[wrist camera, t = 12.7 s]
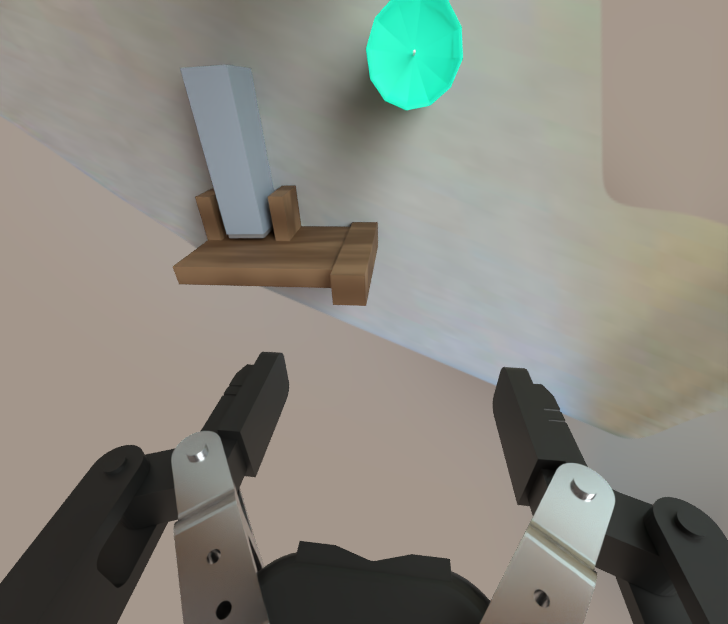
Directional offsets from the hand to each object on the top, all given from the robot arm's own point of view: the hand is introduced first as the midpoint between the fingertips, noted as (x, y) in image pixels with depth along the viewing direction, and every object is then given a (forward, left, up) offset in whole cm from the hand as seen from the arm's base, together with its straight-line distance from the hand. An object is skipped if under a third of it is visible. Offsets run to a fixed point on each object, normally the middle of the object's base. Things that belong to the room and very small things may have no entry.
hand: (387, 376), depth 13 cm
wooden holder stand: (+2, -12, -27) cm, 30 cm away
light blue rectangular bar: (-4, -16, -28) cm, 32 cm away
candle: (-11, +1, -28) cm, 30 cm away
